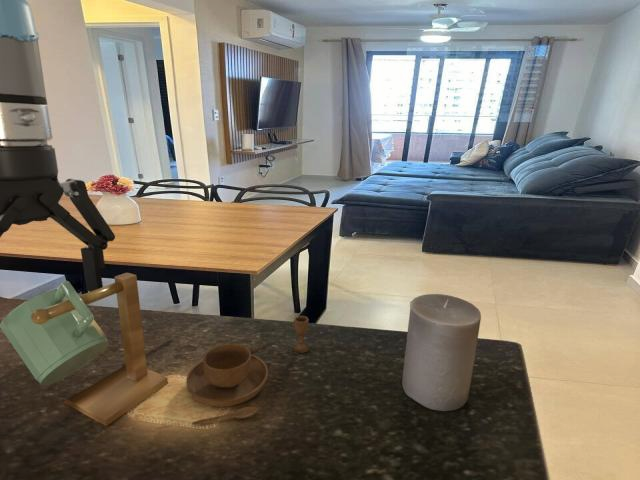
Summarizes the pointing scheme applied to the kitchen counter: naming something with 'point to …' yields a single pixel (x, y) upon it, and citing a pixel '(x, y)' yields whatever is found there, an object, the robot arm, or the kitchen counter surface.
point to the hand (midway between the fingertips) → (45, 310)
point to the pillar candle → (440, 351)
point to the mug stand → (134, 378)
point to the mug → (55, 336)
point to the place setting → (234, 375)
